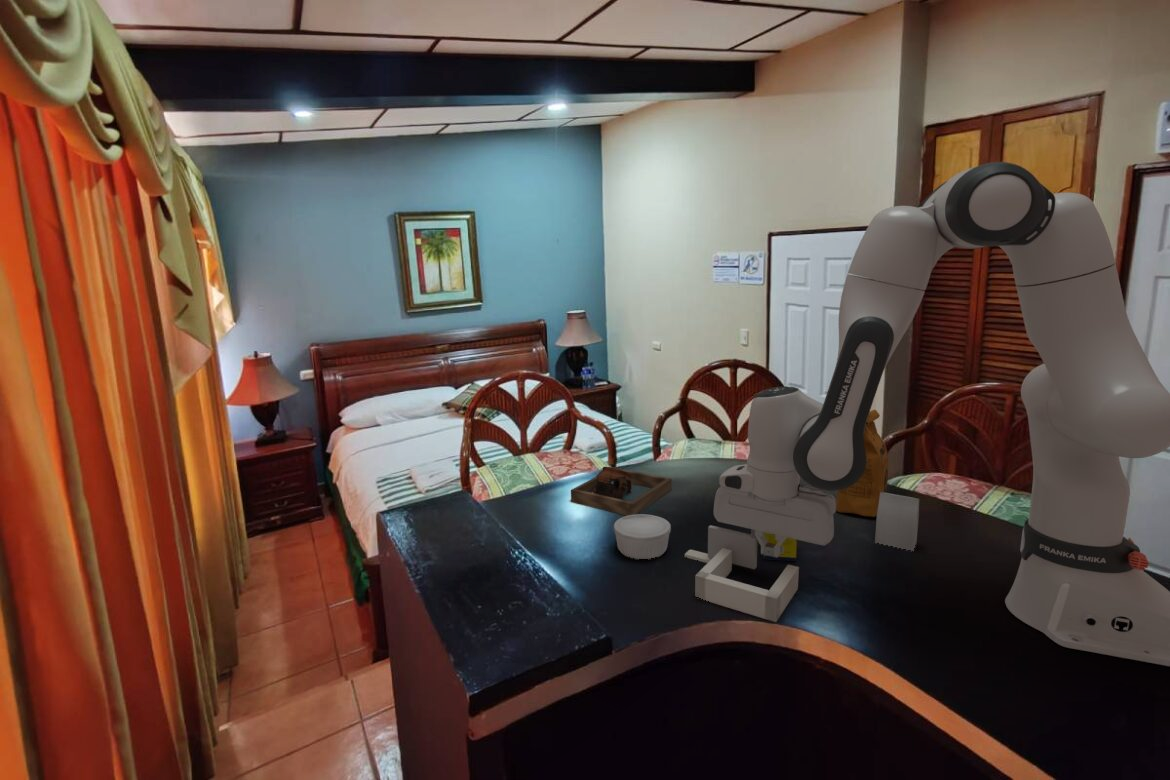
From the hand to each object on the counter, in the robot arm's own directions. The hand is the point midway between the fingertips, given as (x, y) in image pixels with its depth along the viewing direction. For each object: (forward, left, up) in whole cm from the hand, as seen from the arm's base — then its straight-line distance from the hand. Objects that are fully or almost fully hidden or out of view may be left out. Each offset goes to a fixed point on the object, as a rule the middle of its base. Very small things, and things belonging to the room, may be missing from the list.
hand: (770, 554), depth 106 cm
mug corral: (+42, -20, -4) cm, 47 cm away
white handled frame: (+5, +6, -4) cm, 9 cm away
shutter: (+7, 0, -3) cm, 8 cm away
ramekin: (+24, +2, -5) cm, 25 cm away
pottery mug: (+44, -18, -5) cm, 48 cm away
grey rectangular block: (-17, -26, -4) cm, 31 cm away
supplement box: (+1, -10, -4) cm, 11 cm away
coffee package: (-8, -41, -4) cm, 42 cm away
